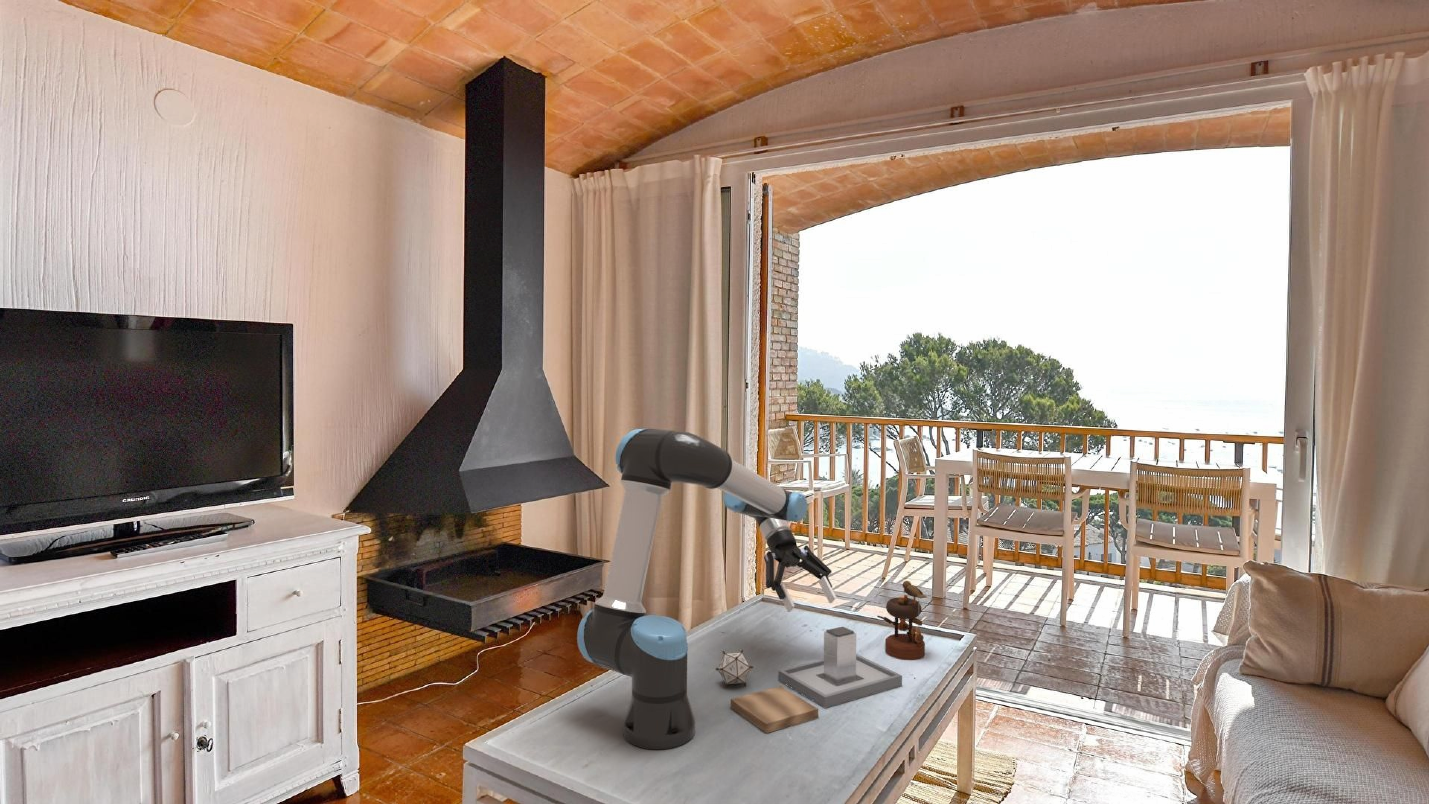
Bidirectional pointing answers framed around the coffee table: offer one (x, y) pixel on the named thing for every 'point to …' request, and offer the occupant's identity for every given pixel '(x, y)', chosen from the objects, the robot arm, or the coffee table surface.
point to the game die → (734, 668)
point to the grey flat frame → (825, 694)
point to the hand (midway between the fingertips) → (812, 604)
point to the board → (774, 709)
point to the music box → (905, 625)
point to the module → (839, 656)
